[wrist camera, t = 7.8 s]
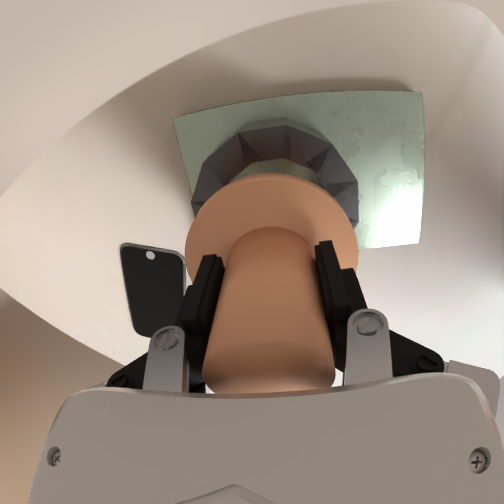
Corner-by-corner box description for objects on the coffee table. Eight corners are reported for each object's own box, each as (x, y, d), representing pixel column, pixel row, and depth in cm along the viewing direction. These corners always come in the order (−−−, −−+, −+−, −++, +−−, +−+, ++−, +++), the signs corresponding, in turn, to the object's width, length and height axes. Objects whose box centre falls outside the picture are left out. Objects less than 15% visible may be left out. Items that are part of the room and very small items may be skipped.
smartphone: (185, 254, 28) (186, 346, 36) (186, 250, 29) (188, 342, 37) (118, 242, 28) (134, 334, 36) (120, 239, 29) (136, 330, 37)
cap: (336, 148, 14) (427, 255, 5) (342, 272, 18) (377, 416, 9) (187, 170, 15) (89, 291, 6) (221, 285, 19) (190, 426, 11)
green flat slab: (413, 91, 18) (455, 97, 12) (412, 234, 25) (439, 273, 20) (178, 116, 21) (146, 128, 16) (216, 257, 28) (202, 301, 23)
